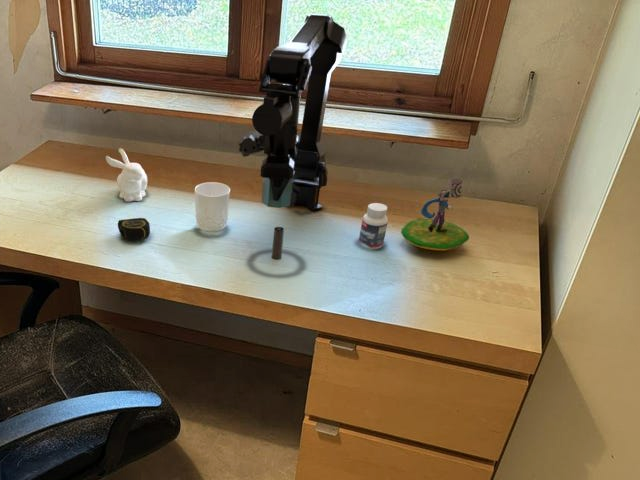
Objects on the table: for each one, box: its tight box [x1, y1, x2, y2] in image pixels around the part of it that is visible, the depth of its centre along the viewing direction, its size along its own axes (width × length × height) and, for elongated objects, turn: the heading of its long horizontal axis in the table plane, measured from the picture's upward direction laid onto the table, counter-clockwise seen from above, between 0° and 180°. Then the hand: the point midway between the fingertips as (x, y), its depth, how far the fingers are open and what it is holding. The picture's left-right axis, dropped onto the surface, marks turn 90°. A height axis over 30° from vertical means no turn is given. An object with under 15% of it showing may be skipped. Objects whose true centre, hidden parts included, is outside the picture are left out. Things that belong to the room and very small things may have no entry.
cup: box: [261, 171, 295, 209], centre depth 143 cm, size 6×6×7 cm
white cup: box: [194, 181, 231, 232], centre depth 155 cm, size 8×8×10 cm
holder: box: [271, 226, 285, 261], centre depth 142 cm, size 11×11×8 cm
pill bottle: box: [358, 202, 389, 250], centre depth 148 cm, size 5×5×9 cm
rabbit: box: [105, 147, 149, 203], centre depth 171 cm, size 12×9×12 cm
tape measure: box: [117, 217, 151, 242], centre depth 154 cm, size 7×7×4 cm
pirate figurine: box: [400, 178, 470, 251], centre depth 145 cm, size 14×13×15 cm
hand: (277, 193), depth 144 cm, fingers closed on cup, 6 cm apart
